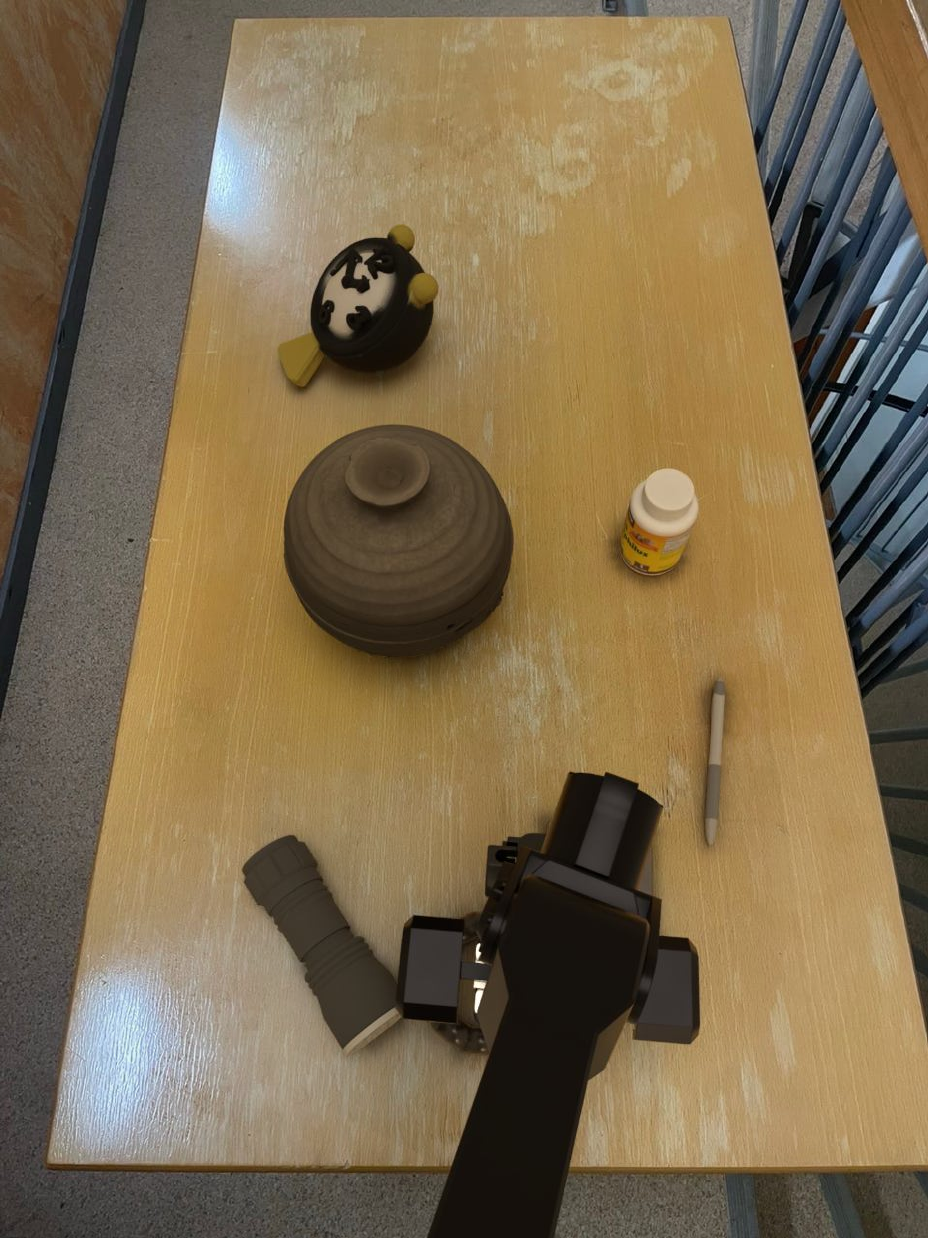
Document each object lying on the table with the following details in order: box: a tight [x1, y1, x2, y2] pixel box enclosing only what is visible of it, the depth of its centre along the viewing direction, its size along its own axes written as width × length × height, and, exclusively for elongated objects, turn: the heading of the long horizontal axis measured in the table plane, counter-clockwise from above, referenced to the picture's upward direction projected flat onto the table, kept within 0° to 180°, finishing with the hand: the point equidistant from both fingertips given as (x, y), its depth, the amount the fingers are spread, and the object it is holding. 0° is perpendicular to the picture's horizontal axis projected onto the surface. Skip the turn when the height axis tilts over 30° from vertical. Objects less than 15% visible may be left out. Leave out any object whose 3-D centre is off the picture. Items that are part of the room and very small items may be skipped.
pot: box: [283, 423, 515, 659], centre depth 72 cm, size 18×18×20 cm
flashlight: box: [241, 834, 402, 1057], centre depth 66 cm, size 15×5×5 cm, turn 36°
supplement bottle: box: [618, 467, 700, 576], centre depth 77 cm, size 6×6×10 cm
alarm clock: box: [277, 223, 440, 388], centre depth 88 cm, size 12×15×15 cm
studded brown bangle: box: [428, 910, 489, 1057], centre depth 66 cm, size 10×10×2 cm
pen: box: [704, 676, 726, 847], centre depth 73 cm, size 1×14×1 cm, turn 170°
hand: (540, 986), depth 66 cm, fingers closed on studded brown bangle, 2 cm apart
